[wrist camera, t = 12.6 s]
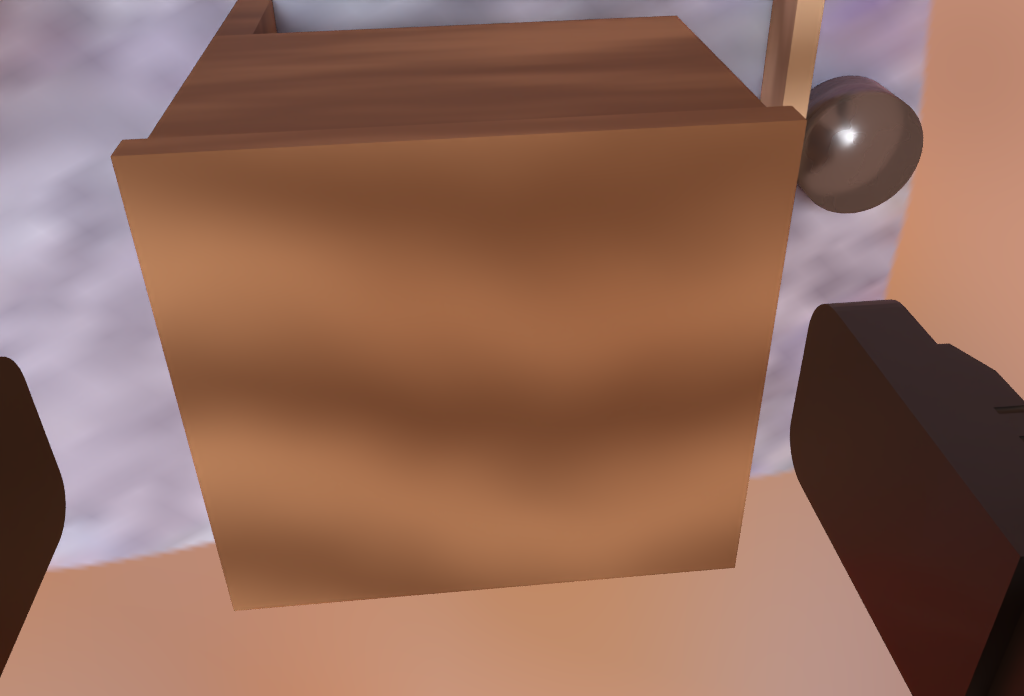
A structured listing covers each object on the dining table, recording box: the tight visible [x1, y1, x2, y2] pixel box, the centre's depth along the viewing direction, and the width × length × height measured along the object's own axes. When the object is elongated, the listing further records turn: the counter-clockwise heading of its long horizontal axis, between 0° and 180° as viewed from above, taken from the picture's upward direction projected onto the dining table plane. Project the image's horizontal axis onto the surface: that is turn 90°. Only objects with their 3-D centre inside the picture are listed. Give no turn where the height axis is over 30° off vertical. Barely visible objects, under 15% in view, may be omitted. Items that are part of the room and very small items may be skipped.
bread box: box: [111, 0, 807, 611], centre depth 31 cm, size 15×16×16 cm
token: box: [797, 76, 923, 213], centre depth 38 cm, size 5×5×2 cm
